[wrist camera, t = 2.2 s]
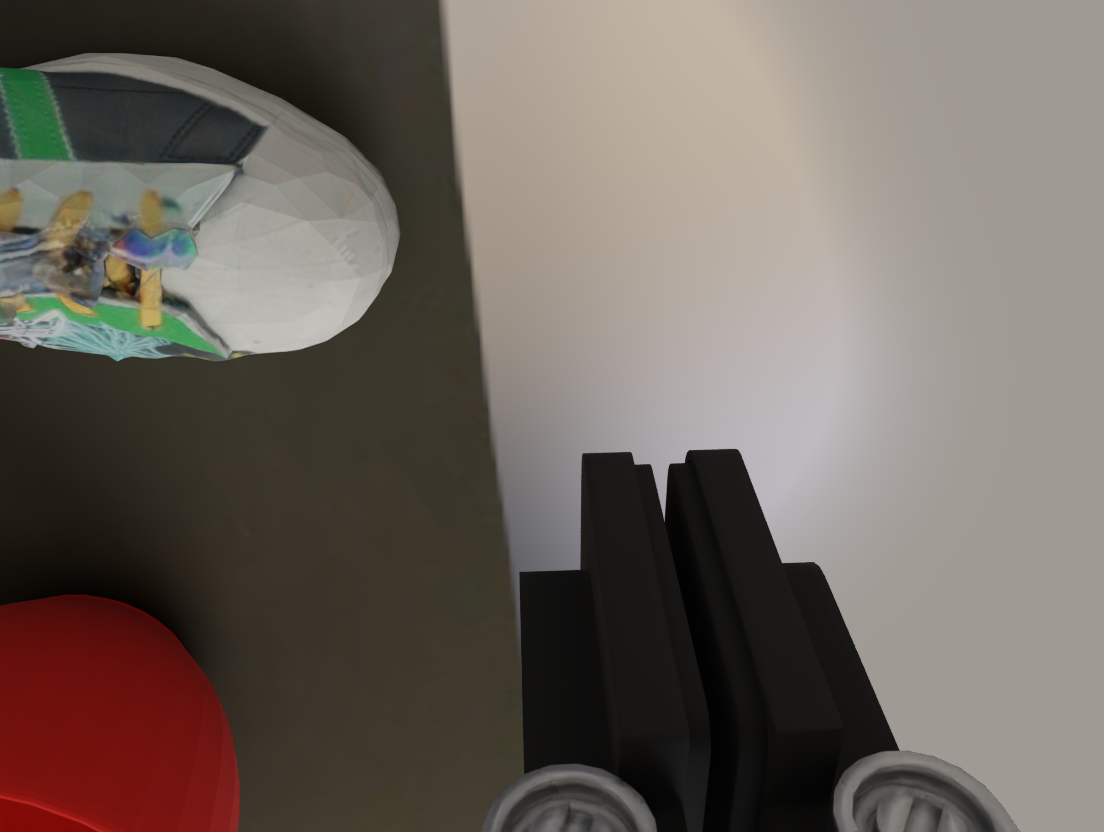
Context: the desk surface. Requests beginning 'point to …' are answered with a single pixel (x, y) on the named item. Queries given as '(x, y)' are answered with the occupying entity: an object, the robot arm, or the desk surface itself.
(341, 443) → the desk surface
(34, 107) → the sneaker
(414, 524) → the desk surface
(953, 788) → the robot arm
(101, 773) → the ceramic cup
